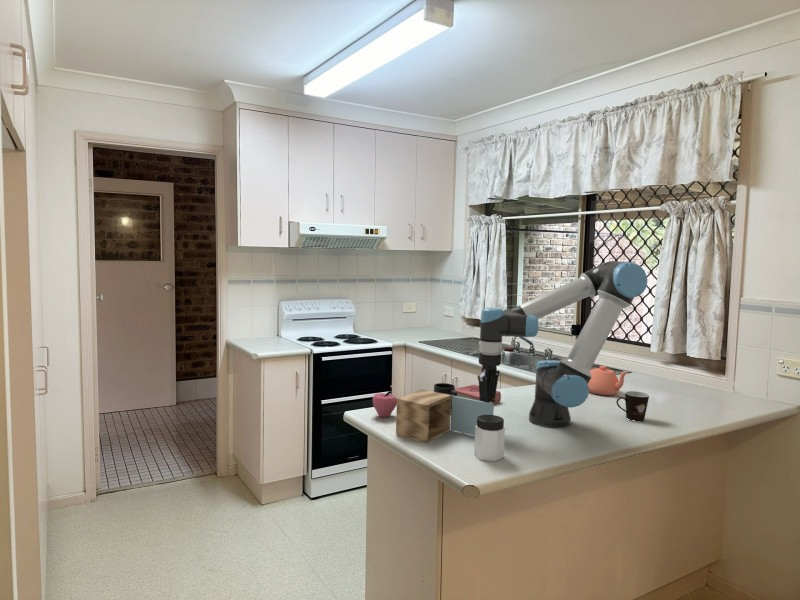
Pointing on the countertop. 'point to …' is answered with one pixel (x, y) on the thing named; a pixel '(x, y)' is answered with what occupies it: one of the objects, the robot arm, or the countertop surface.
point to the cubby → (423, 415)
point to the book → (474, 393)
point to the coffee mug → (635, 405)
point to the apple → (384, 403)
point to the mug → (445, 389)
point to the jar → (489, 438)
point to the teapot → (605, 381)
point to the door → (467, 413)
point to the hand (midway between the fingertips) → (486, 420)
